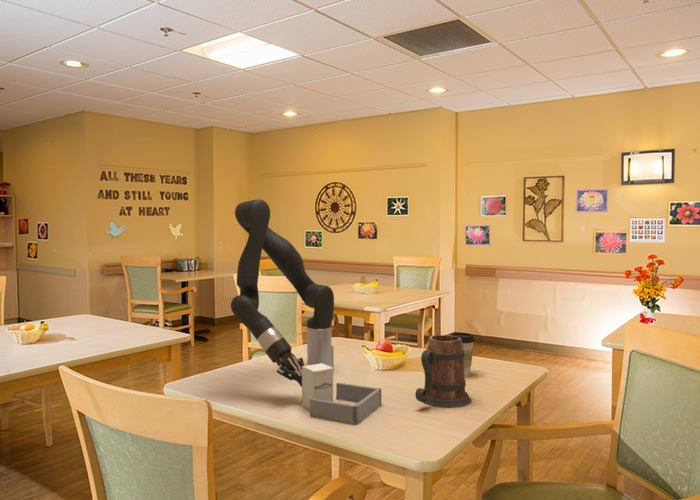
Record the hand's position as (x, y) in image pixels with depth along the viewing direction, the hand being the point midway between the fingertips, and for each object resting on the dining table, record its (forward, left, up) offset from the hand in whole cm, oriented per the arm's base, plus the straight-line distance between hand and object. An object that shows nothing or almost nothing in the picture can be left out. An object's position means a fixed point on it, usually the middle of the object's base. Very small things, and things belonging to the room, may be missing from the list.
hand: (307, 387), depth 168 cm
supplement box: (-1, +4, -5) cm, 7 cm away
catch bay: (-7, +11, -5) cm, 14 cm away
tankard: (-36, +22, -6) cm, 42 cm away
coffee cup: (-63, +5, -6) cm, 63 cm away
